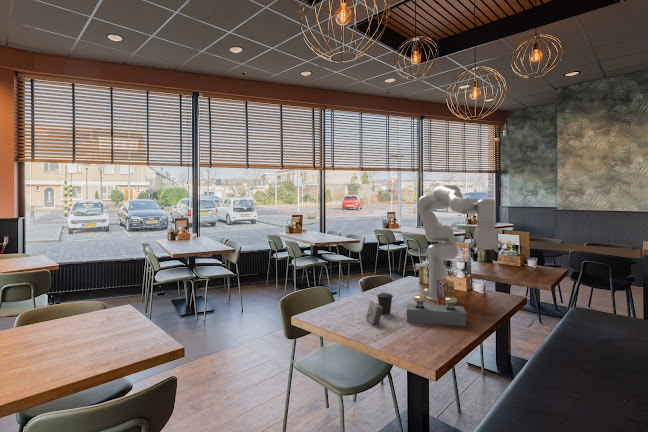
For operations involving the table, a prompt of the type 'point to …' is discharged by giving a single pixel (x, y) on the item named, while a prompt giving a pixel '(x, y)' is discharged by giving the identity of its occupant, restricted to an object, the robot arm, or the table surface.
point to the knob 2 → (451, 302)
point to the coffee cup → (385, 302)
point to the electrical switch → (374, 313)
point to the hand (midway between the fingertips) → (485, 261)
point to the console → (436, 314)
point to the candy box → (444, 290)
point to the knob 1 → (419, 300)
